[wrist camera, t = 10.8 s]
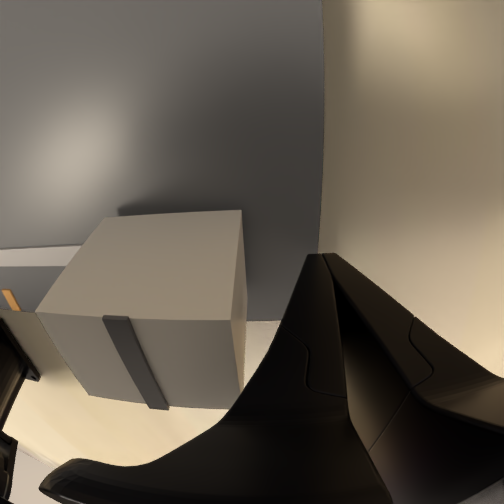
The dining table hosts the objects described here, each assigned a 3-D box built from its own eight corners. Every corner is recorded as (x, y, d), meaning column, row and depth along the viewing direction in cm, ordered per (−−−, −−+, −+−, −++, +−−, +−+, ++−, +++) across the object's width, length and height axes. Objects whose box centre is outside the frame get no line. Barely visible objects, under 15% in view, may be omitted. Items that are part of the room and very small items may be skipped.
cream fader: (247, 298, 10) (242, 414, 7) (129, 298, 10) (88, 399, 7) (241, 208, 8) (229, 322, 5) (104, 216, 8) (31, 313, 5)
